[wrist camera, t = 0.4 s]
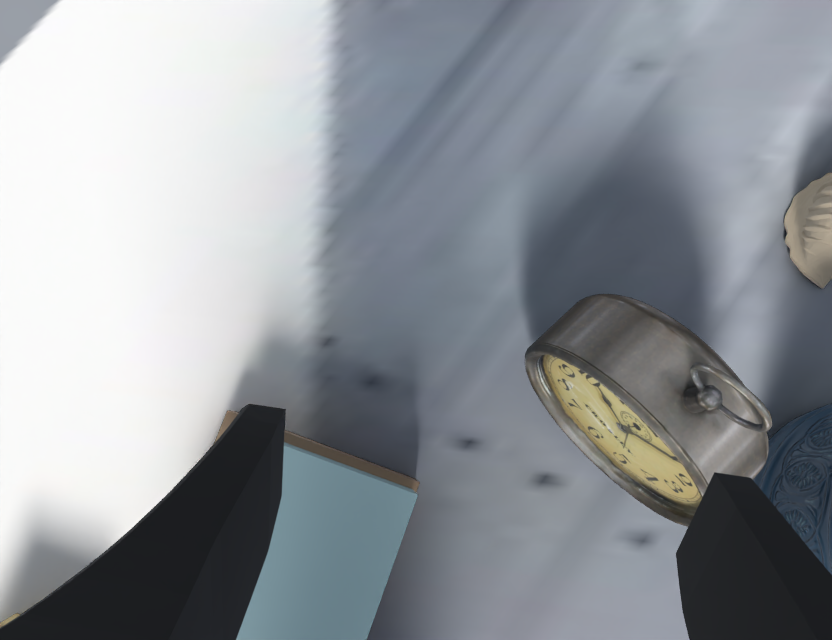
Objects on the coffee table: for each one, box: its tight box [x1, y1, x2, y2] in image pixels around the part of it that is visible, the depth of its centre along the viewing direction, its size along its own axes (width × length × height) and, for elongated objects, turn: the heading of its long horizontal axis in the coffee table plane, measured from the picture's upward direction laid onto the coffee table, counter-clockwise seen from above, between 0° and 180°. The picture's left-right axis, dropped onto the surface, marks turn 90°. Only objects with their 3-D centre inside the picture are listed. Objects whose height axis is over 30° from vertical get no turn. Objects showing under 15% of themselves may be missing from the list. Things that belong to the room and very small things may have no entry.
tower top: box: [236, 442, 418, 640], centre depth 36 cm, size 9×9×3 cm
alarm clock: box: [525, 294, 772, 527], centre depth 34 cm, size 11×5×16 cm, turn 42°
